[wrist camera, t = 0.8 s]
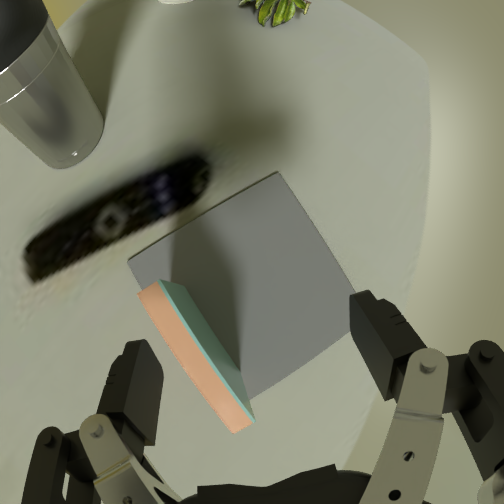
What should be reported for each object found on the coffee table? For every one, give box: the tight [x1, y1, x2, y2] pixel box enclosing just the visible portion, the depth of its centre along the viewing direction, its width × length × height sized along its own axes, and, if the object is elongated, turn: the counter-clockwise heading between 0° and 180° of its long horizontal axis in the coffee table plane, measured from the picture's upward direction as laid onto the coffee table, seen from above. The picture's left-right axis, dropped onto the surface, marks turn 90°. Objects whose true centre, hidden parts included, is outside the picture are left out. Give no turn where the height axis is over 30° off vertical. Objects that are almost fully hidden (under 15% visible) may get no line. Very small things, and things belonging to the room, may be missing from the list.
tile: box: [137, 279, 256, 434], centre depth 21 cm, size 10×2×12 cm, turn 33°
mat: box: [127, 172, 355, 400], centre depth 29 cm, size 18×18×1 cm
